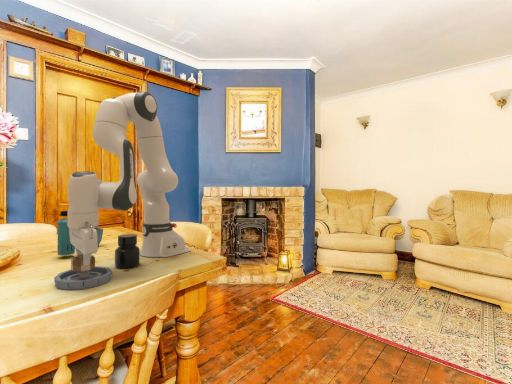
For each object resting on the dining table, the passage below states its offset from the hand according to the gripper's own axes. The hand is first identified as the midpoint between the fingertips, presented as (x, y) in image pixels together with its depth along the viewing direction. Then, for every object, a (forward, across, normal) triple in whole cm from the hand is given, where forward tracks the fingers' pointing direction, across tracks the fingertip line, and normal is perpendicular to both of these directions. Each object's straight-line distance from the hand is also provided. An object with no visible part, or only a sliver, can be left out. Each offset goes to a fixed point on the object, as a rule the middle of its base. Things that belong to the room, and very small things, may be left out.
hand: (83, 262), depth 97 cm
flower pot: (+6, +52, -15) cm, 55 cm away
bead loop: (+2, 0, 0) cm, 2 cm away
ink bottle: (+6, +8, -17) cm, 20 cm away
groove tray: (+6, 0, 0) cm, 6 cm away
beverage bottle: (+6, +37, -2) cm, 38 cm away
